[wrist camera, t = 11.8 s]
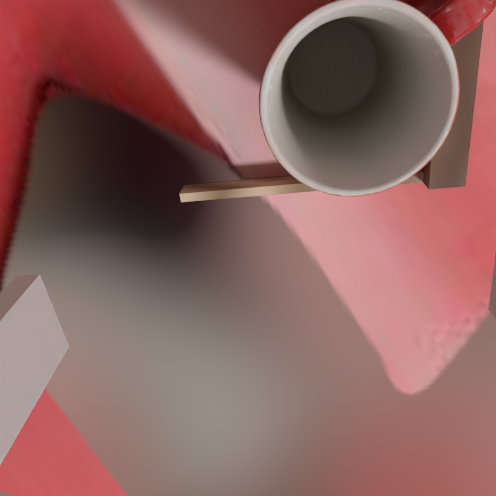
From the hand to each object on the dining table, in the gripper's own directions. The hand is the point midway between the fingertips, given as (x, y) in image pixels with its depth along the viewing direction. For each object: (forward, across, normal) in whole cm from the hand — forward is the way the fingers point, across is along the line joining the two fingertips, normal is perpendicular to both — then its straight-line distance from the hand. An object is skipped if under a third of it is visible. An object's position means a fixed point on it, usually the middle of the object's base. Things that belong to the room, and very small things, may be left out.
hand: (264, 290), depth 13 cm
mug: (+24, +6, +4) cm, 25 cm away
